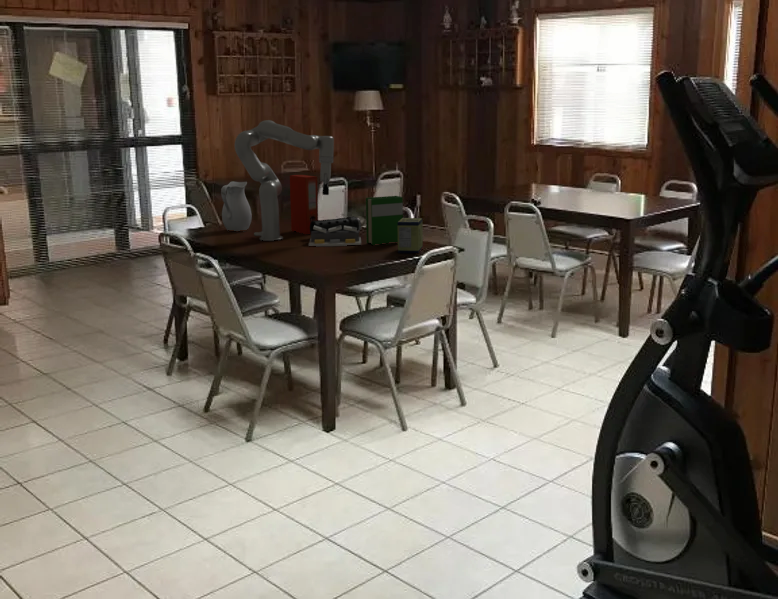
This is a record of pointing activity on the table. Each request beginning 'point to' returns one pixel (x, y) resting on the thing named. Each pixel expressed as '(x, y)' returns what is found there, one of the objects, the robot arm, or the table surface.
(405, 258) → the table surface
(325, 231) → the switch left
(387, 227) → the hardback book
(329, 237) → the panel
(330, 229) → the switch middle
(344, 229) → the switch right
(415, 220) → the protein box
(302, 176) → the file binder
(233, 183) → the pitcher
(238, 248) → the table surface
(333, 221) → the muzzle brake
